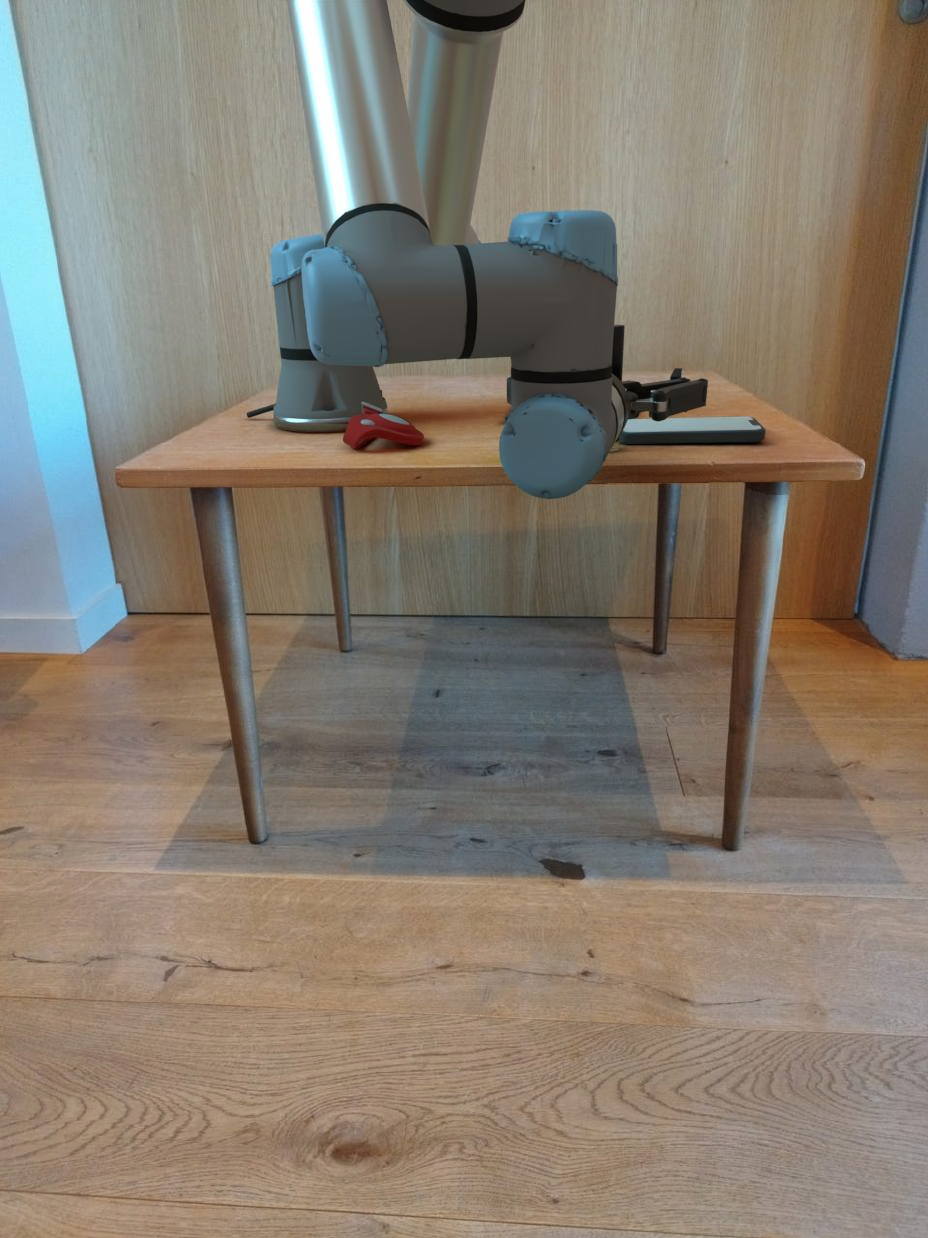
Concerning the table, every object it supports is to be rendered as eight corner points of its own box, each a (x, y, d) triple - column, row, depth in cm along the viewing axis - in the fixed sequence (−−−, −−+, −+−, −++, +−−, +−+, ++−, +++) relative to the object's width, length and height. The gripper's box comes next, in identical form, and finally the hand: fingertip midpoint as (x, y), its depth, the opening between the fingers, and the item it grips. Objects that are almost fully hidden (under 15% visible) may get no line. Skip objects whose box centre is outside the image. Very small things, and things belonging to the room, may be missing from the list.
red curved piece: (443, 431, 96) (383, 424, 89) (432, 467, 98) (372, 463, 91) (376, 398, 103) (315, 389, 95) (367, 432, 105) (306, 425, 97)
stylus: (592, 450, 90) (597, 326, 85) (603, 446, 92) (608, 324, 87) (612, 453, 89) (618, 326, 84) (622, 448, 91) (628, 324, 85)
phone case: (619, 447, 93) (766, 444, 90) (619, 433, 92) (768, 429, 90) (617, 431, 101) (752, 428, 98) (617, 418, 100) (753, 415, 98)
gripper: (447, 452, 76) (504, 412, 95) (726, 463, 69) (728, 417, 88) (444, 369, 73) (503, 344, 92) (735, 372, 66) (736, 344, 85)
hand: (613, 380), depth 90 cm, fingers open, 13 cm apart
